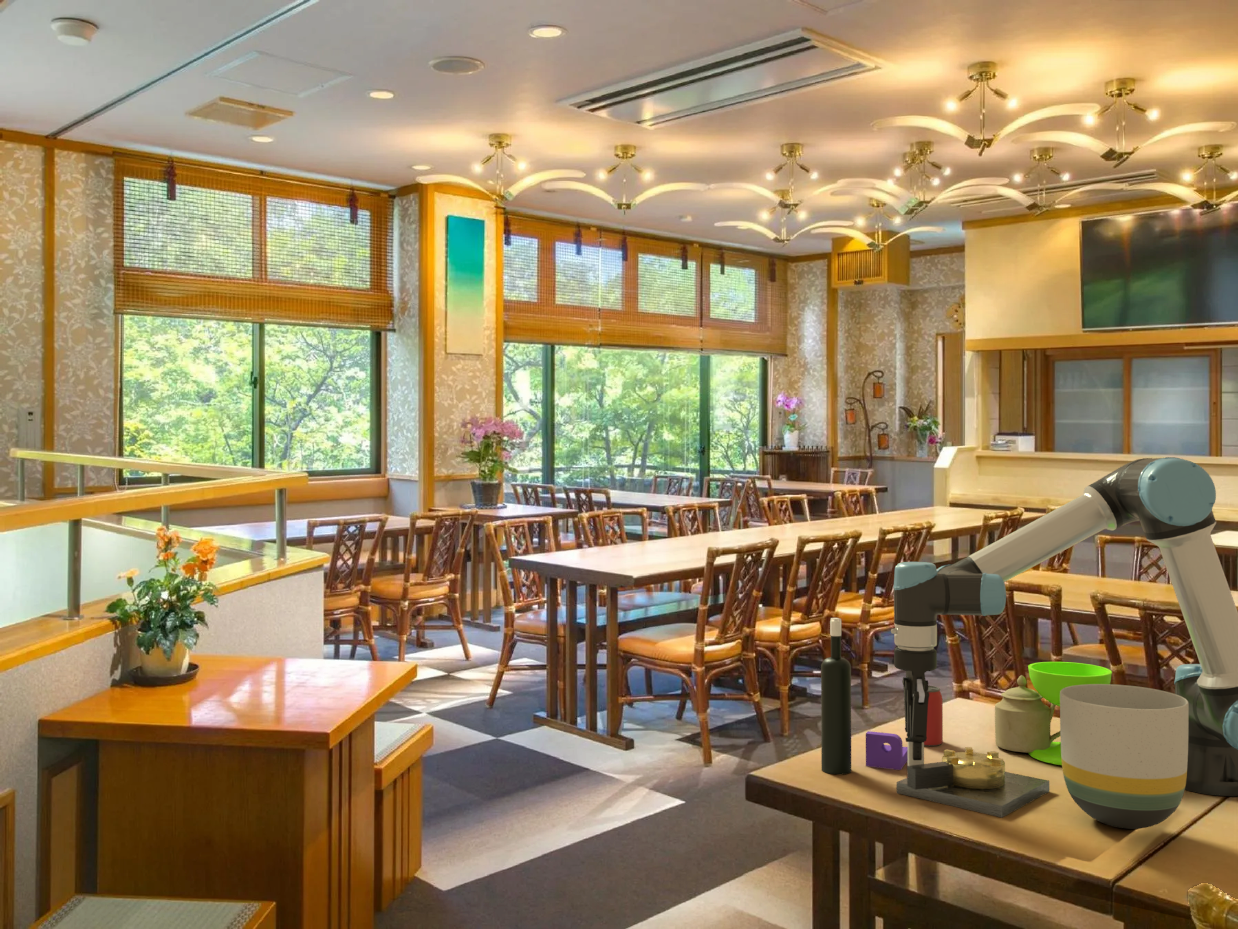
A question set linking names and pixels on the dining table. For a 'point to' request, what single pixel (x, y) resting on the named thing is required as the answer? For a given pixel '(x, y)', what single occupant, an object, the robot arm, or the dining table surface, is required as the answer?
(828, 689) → the wine bottle
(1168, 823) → the dining table surface
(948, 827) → the dining table surface
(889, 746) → the bracket
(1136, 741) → the planter
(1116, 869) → the dining table surface
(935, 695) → the beer can
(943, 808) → the dining table surface
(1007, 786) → the plate
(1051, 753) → the wineglass
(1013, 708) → the sugar bowl
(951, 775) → the gold tabbed disc
